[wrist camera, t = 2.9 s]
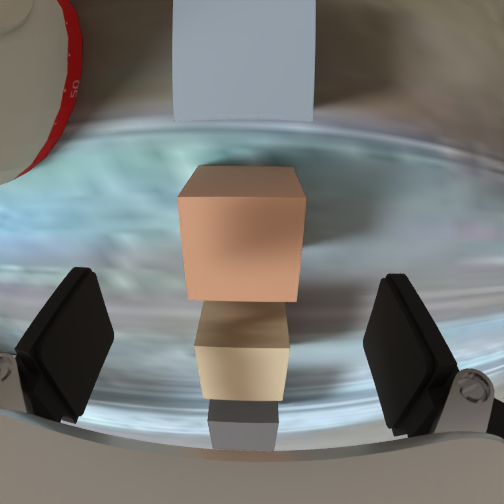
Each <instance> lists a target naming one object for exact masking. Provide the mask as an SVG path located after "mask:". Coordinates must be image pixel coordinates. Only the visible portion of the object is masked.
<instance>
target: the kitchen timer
mask: <svg viewBox="0 0 504 504" xmlns="http://www.w3.org/2000/svg"><path fill="white" fill-rule="evenodd" d="M82 47H83V38H82V34H81V30H80V26H79V21H78V17H77V12H76V11H75V9H74V8H73V6H72V5H71V3H70V2H69V0H0V185H1V184H4V183H7V182H10V181H12V180H14V179H16V178H18V177H19V176H21V175H23V174H25V173H27V172H28V171H29V170H31V169H32V168H33V167H34V166H36V165H37V164H38V163H39V162H40V161H42V160H43V159H44V158H46V156H47V155H48V153H49V152H50V150H51V149H52V148H53V146H54V145H55V143H56V142H57V141H58V139H59V138H60V136H61V135H62V133H63V131H64V128H65V126H66V123H67V121H68V119H69V116H70V114H71V112H72V110H73V107H74V105H75V101H76V96H77V91H78V87H79V82H80V78H81V74H82Z"/></svg>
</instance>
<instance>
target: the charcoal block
mask: <svg viewBox="0 0 504 504" xmlns="http://www.w3.org/2000/svg"><path fill="white" fill-rule="evenodd" d="M207 421H208V426H209V432H210V436H211V441H212V446H213V449H221V450H244V451H274V447H275V442H276V436H277V430H278V424H279V417H278V401H242V400H218V399H210V404H209V412H208V420H207Z"/></svg>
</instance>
